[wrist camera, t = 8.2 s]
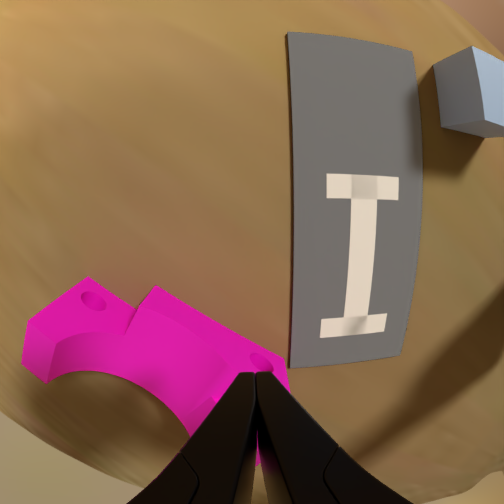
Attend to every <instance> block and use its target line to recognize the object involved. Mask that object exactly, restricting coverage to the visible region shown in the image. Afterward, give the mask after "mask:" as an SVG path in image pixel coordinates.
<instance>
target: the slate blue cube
mask: <svg viewBox="0 0 504 504" xmlns="http://www.w3.org/2000/svg"><path fill="white" fill-rule="evenodd" d="M433 68H434V74H435V80H436V87H437V94H438V102H439V111H440V122H441V127H443V128H447V129H452V130H456V131H460V132H464V133H468V134H472V135H476V136H480V137H483V138H491V137H504V62H503V61H501V60H499V59H497V58H496V57H494V56H492V55H490V54H488V53H486V52H484V51H482V50H479V49H477V48H475V47H473V46H470V47H468V48H466V49H464V50H462V51H460V52H458V53H456V54H454V55H451V56H449V57H447V58H445V59H443V60H441V61H439V62H437V63H435V64H434V65H433Z"/></svg>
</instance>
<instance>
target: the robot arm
mask: <svg viewBox="0 0 504 504" xmlns="http://www.w3.org/2000/svg"><path fill="white" fill-rule="evenodd" d="M257 441H258V450H259V456H260V461H261V467H262V472H263V477H264V482H265V486H266V491H267V496H268V501H269V504H413V503H411V502H410V501H408V500H407V499H405V498H404V497H402V496H401V495H399V494H398V493H396V492H395V491H393V490H392V489H390V488H389V487H387V486H386V485H385V484H383V483H382V482H380V481H379V480H378V479H376V478H375V477H374V476H372V475H371V474H370V473H368V472H367V471H366V470H365V469H363V468H362V467H361V466H360V465H359V464H358V463H357V462H356V461H355V460H353V459H352V458H351V457H350V456H349V455H348V454H347V453H346V452H345V451H344V450H343V449H342V448H341V447H339V445H338V444H337V443H336V442H335V441H334V440H333V439H332V438H331V436H330V435H329V434H328V433H327V432H326V431H325V430H324V429H323V428H322V427H321V426H320V425H319V424H318V423H317V422H316V421H315V420H314V419H313V417H312V416H311V415H310V414H309V413H308V412H307V411H306V410H305V409H304V408H303V407H302V406H301V404H300V403H299V402H298V401H297V400H296V399H295V398H294V397H293V396H292V394H291V393H290V392H289V391H288V390H287V389H286V388H285V387H284V386H283V384H282V383H281V382H280V381H279V380H278V379H277V378H276V376H275V375H274V374H273V373H272V372H271V371H259V372H256V373H254V372H240V373H238V375H237V376H236V377H235V379H234V380H233V382H232V383H231V384H230V386H229V387H228V388H227V390H226V391H225V393H224V394H223V395H222V397H221V398H220V399H219V401H218V402H217V403H216V405H215V406H214V407H213V409H212V410H211V411H210V413H209V414H208V415H207V417H206V418H205V419H204V420H203V422H202V423H201V424H200V426H199V427H198V428H197V429H196V431H195V432H194V433H193V435H192V436H191V437H190V438H189V440H188V441H187V442H186V443H185V445H184V446H183V447H182V448H181V450H180V453H177V454H176V456H175V457H174V458H173V459H172V461H171V462H170V463H169V464H168V465H167V466H166V468H165V469H164V470H163V471H162V472H161V473H160V474H159V475H158V476H157V477H156V478H155V479H154V480H153V481H152V482H151V483H150V484H149V485H148V486H147V487H146V488H144V489H143V490H142V491H141V492H140V493H139V494H138V495H137V496H135V497H134V498H133V499H132V500H131V501H129V502H128V503H127V504H251V497H252V489H253V481H254V473H255V464H256V456H257Z"/></svg>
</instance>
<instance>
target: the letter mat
mask: <svg viewBox="0 0 504 504" xmlns="http://www.w3.org/2000/svg"><path fill="white" fill-rule="evenodd" d="M287 37H288V51H289V67H290V86H291V109H292V138H293V189H294V246H293V298H292V328H291V351H290V368H302V367H314V366H325V365H335V364H344V363H352V362H360V361H367V360H374V359H381V358H387V357H393V356H399V355H400V353H401V349H402V345H403V341H404V336H405V332H406V327H407V322H408V317H409V312H410V307H411V301H412V295H413V289H414V283H415V276H416V268H417V260H418V251H419V241H420V230H421V215H422V191H423V154H422V130H421V116H420V105H419V95H418V87H417V79H416V72H415V66H414V60H413V54H412V51H408V50H404V49H400V48H396V47H392V46H388V45H384V44H379V43H374V42H369V41H364V40H358V39H352V38H346V37H339V36H331V35H322V34H312V33H300V32H287Z"/></svg>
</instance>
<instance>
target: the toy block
mask: <svg viewBox="0 0 504 504" xmlns="http://www.w3.org/2000/svg"><path fill="white" fill-rule="evenodd" d="M21 364H22V365H23V366H24V367H26V368H27V369H28V370H29V371H30V372H32V373H33V374H34V375H35V376H37V377H38V378H39V379H40V380H42V381H43V382H44V383H45V384H47V383H49V382H50V381H51V380H53V379H55V378H56V377H58V376H61V375H63V374H66V373H70V372H75V371H99V372H105V373H109V374H113V375H116V376H119V377H122V378H124V379H127V380H129V381H131V382H133V383H135V384H137V385H139V386H141V387H143V388H144V389H146V390H147V391H149V392H150V393H152V394H153V395H155V396H156V397H157V398H159V399H160V400H161V401H162V402H163V403H164V404H165V405H166V406H168V407H169V408H170V409H171V410H172V412H173V413H174V414H175V415H176V416H177V417H178V419H179V420H180V421H181V423H182V424H183V425H184V427H185V428H186V430H187V432H188V433H189V436H190V437H191V436H192V435H193V433H194V432H195V431H196V429H197V428H198V427H199V426H200V424H201V423H202V422H203V420H204V419H205V418H206V417H207V415H208V414H209V413H210V411H211V410H212V409H213V407H214V406H215V405H216V403H217V402H218V401H219V399H220V398H221V397H222V395H223V394H224V393H225V391H226V390H227V388H228V387H229V386H230V384H231V383H232V382H233V380H234V379H235V377H236V376H237V375H238V373H240V372H254V373H256V372H259V371H271V372H272V373H273V374H274V375H275V376H276V378H277V379H278V380H279V381H280V382H281V383H282V384H283V386H284V387H285V388H286V389H287V390H288V391H289V392H290V388H289V383H288V378H287V372H286V367H285V362H284V358H282V357H280V356H278V355H276V354H274V353H272V352H270V351H268V350H267V349H265V348H263V347H261V346H259V345H257V344H255V343H253V342H252V341H250V340H248V339H246V338H244V337H242V336H241V335H239V334H237V333H235V332H233V331H232V330H230V329H228V328H226V327H225V326H223V325H221V324H219V323H218V322H216V321H214V320H212V319H211V318H209V317H207V316H206V315H204V314H202V313H200V312H199V311H197V310H195V309H194V308H192V307H190V306H189V305H187V304H186V303H184V302H182V301H181V300H179V299H177V298H176V297H174V296H173V295H171V294H169V293H168V292H166V291H165V290H163V289H161V288H160V287H158V286H157V285H155V287H154V288H153V289H152V290H151V292H150V293H149V294H148V295H147V297H146V298H145V299H144V301H143V302H142V303H141V304H140V306H139V308H138V309H137V310H136V309H135V308H133V307H132V306H130V305H129V304H127V303H126V302H124V301H123V300H121V299H120V298H118V297H117V296H115V295H114V294H112V293H111V292H109V291H108V290H106V289H105V288H104V287H102V286H101V285H99V284H98V283H97V282H95V281H94V280H92V279H91V278H90V277H86V278H85V279H84V280H82V281H81V282H79V283H78V284H77V285H75V286H74V287H72V288H71V289H70V290H68V291H67V292H65V293H64V294H63V295H61V296H60V297H59V298H57V299H56V300H55V301H53V302H52V303H51V304H49V305H48V306H47V307H45V308H44V309H43V310H41V311H40V312H39V313H37V314H36V315H35V316H33V317H32V318H31V319H30V320H28V323H27V329H26V334H25V341H24V347H23V354H22V362H21ZM259 463H261V461H260V456H259V450H258V441H257V456H256V464H255V466H257V465H258V464H259Z"/></svg>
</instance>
